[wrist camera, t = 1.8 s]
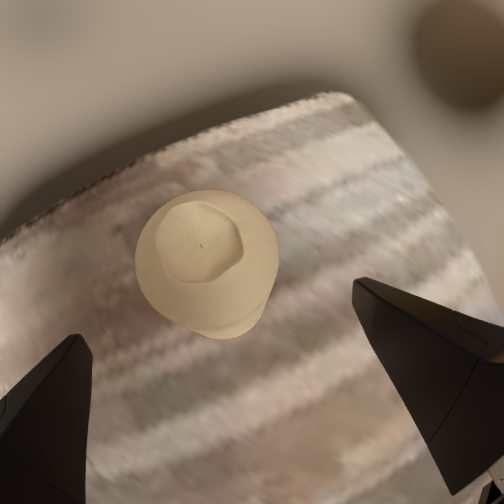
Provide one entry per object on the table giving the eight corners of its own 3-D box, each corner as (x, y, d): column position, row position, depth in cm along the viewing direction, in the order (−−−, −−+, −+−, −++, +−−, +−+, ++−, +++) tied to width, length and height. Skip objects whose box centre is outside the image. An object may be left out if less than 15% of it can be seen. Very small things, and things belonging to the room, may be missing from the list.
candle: (280, 281, 20) (311, 210, 10) (238, 356, 18) (228, 358, 8) (208, 241, 20) (180, 148, 11) (164, 311, 19) (92, 267, 9)
